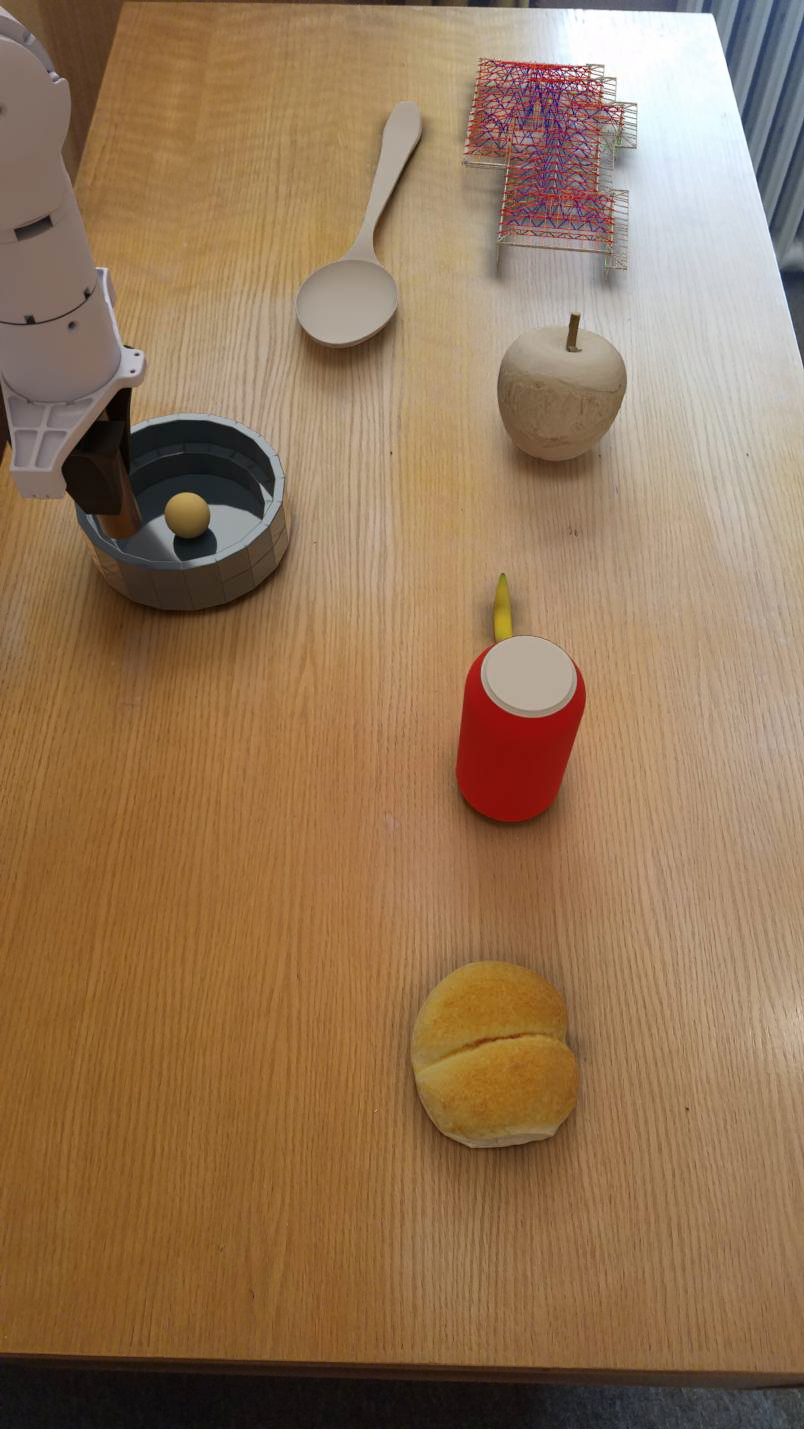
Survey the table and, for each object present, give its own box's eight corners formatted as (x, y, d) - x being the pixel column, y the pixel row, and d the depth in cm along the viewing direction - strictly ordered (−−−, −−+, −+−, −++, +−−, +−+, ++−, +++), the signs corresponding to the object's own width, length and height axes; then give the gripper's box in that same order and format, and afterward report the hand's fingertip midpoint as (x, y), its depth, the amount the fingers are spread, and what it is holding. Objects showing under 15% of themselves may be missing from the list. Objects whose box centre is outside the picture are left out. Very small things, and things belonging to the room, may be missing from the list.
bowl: (77, 615, 66) (55, 567, 62) (112, 463, 73) (95, 410, 69) (282, 620, 66) (274, 572, 62) (298, 467, 73) (292, 415, 69)
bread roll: (551, 961, 55) (562, 937, 52) (586, 1137, 51) (600, 1125, 47) (400, 978, 54) (400, 956, 51) (421, 1158, 50) (423, 1147, 47)
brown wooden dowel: (98, 539, 60) (53, 425, 52) (105, 508, 61) (62, 392, 53) (138, 540, 60) (99, 426, 52) (145, 509, 61) (108, 393, 53)
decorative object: (513, 496, 72) (529, 385, 63) (476, 410, 76) (486, 295, 67) (630, 471, 73) (661, 359, 64) (587, 388, 77) (610, 273, 69)
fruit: (492, 586, 68) (496, 557, 65) (509, 586, 68) (514, 558, 65) (494, 675, 64) (498, 648, 62) (512, 675, 64) (517, 648, 62)
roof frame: (630, 294, 83) (643, 236, 78) (445, 278, 84) (448, 220, 79) (634, 91, 98) (645, 33, 93) (477, 80, 99) (481, 21, 94)
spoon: (381, 376, 77) (382, 348, 75) (280, 362, 78) (278, 333, 76) (449, 134, 96) (451, 105, 94) (366, 123, 97) (366, 95, 94)
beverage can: (524, 721, 63) (549, 604, 52) (578, 802, 60) (616, 697, 49) (436, 761, 61) (444, 649, 51) (487, 846, 58) (507, 747, 48)
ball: (166, 547, 68) (157, 517, 66) (172, 512, 70) (163, 482, 67) (210, 548, 68) (203, 518, 66) (216, 514, 70) (209, 483, 67)
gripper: (91, 398, 42) (158, 595, 54) (147, 188, 50) (195, 401, 62) (-76, 394, 43) (26, 591, 54) (4, 185, 50) (79, 398, 62)
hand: (108, 490), depth 58 cm, fingers closed on brown wooden dowel, 2 cm apart
